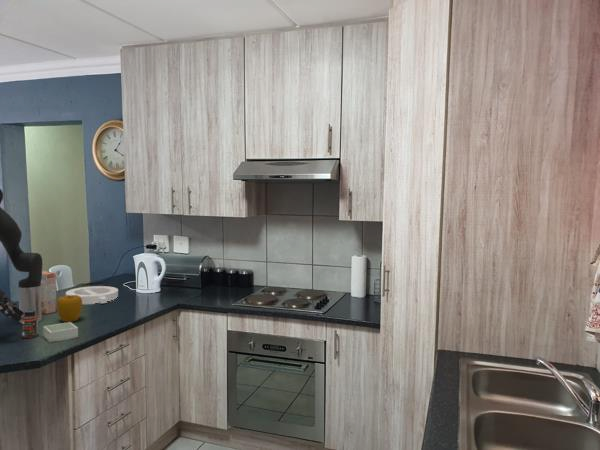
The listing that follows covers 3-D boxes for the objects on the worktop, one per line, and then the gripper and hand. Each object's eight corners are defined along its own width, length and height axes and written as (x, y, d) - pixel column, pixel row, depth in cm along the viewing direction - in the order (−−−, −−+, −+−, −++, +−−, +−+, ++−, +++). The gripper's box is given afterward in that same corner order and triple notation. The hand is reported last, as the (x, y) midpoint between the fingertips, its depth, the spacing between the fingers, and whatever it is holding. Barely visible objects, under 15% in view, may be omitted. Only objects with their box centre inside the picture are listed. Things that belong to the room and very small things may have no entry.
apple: (76, 316, 232) (75, 291, 231) (86, 320, 226) (86, 294, 225) (53, 320, 224) (52, 294, 223) (63, 325, 217) (62, 298, 216)
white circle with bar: (105, 305, 256) (105, 297, 256) (55, 304, 257) (55, 295, 256) (125, 294, 284) (125, 286, 284) (80, 293, 285) (80, 285, 284)
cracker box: (56, 312, 239) (56, 272, 238) (45, 314, 234) (44, 274, 233) (41, 308, 246) (40, 269, 245) (29, 310, 241) (29, 271, 240)
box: (43, 336, 201) (43, 326, 200) (70, 331, 208) (70, 322, 208) (49, 343, 192) (49, 332, 192) (78, 338, 200) (77, 327, 199)
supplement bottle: (22, 339, 196) (22, 313, 195) (21, 335, 201) (20, 310, 200) (38, 337, 200) (38, 311, 199) (37, 333, 204) (36, 308, 204)
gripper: (-7, 290, 187) (26, 315, 193) (-2, 283, 200) (29, 307, 206) (-22, 304, 185) (12, 328, 191) (-16, 296, 198) (16, 320, 204)
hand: (21, 317), depth 198 cm, fingers open, 8 cm apart
